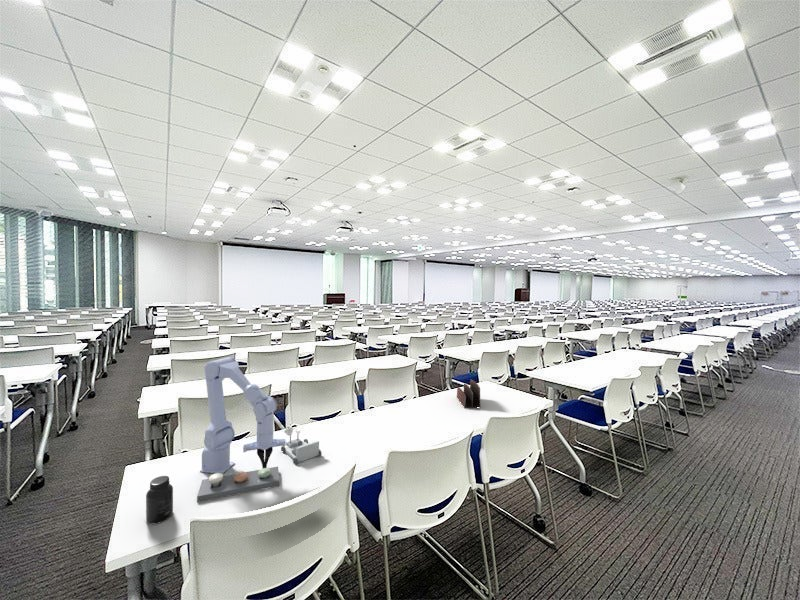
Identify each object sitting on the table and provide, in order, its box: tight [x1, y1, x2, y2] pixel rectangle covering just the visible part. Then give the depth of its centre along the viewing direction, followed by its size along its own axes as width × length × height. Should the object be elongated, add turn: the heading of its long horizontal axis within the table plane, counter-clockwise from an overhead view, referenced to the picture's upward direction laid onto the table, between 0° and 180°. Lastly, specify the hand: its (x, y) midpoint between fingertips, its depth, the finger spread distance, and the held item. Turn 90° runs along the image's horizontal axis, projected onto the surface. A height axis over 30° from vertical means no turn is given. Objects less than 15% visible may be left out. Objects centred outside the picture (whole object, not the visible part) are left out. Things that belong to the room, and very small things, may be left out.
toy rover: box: [280, 426, 323, 466], centre depth 144 cm, size 18×10×12 cm
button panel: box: [196, 466, 280, 502], centre depth 120 cm, size 26×10×2 cm, turn 113°
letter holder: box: [456, 378, 481, 409], centre depth 213 cm, size 10×20×14 cm, turn 5°
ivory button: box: [208, 473, 224, 487], centre depth 117 cm, size 4×4×3 cm
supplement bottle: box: [145, 475, 174, 524], centre depth 103 cm, size 7×7×12 cm
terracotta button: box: [234, 471, 248, 483], centre depth 120 cm, size 4×4×3 cm
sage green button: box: [258, 467, 271, 479], centre depth 123 cm, size 4×4×3 cm
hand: (264, 466), depth 123 cm, fingers closed
